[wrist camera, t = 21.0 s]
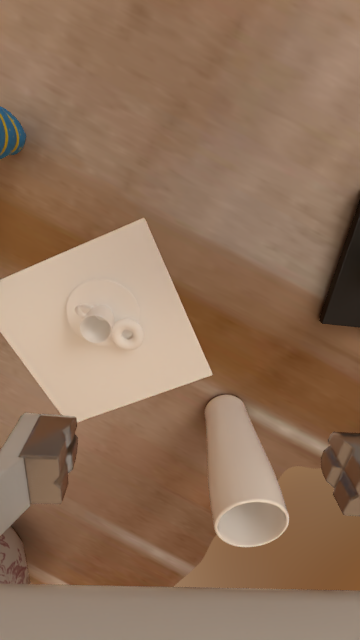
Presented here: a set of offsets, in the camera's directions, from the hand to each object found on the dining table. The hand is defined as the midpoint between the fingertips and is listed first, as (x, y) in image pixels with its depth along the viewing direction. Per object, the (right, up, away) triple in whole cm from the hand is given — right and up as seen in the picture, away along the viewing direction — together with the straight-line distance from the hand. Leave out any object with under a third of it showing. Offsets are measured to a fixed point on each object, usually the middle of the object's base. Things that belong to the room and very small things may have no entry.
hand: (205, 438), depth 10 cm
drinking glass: (+5, -8, +31) cm, 33 cm away
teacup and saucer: (-10, +2, +26) cm, 28 cm away
